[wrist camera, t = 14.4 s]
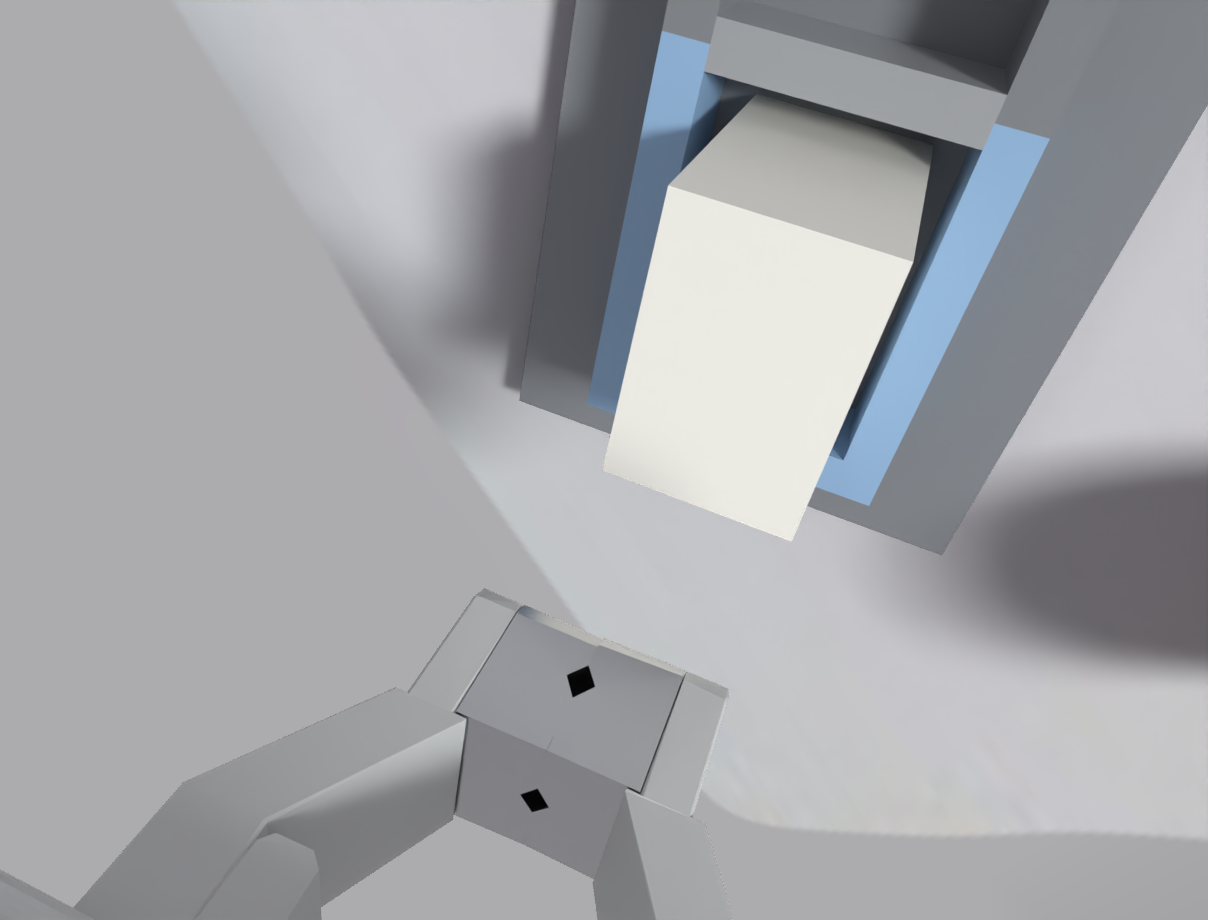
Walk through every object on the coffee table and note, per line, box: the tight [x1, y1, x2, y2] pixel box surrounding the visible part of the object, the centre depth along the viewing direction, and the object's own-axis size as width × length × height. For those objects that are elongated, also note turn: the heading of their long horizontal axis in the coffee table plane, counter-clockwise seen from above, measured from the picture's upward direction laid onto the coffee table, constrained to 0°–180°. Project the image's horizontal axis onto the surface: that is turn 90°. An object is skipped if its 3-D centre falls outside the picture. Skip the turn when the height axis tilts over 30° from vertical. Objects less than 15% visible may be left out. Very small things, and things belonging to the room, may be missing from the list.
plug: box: [602, 94, 934, 542], centre depth 18 cm, size 6×4×7 cm, turn 168°
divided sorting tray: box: [519, 0, 1208, 555], centre depth 18 cm, size 23×13×4 cm, turn 168°
